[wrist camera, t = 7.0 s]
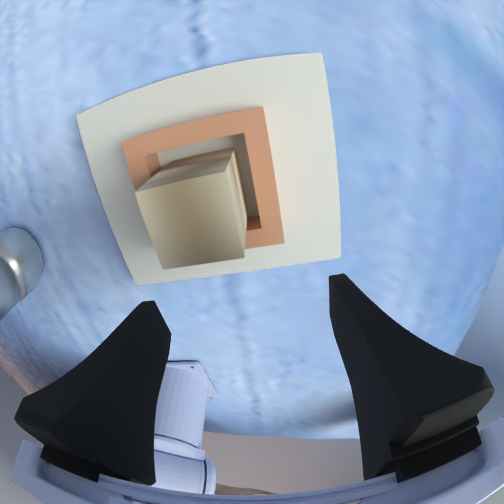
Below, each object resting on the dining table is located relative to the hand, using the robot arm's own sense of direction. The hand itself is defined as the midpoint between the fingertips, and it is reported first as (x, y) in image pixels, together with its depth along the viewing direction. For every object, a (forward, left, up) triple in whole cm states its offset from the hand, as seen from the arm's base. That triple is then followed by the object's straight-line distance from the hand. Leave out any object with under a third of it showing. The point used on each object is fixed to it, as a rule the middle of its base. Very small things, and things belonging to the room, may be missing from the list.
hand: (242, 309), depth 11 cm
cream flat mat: (-2, +3, -9) cm, 10 cm away
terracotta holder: (-2, +3, -8) cm, 9 cm away
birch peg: (-2, +3, -8) cm, 9 cm away
